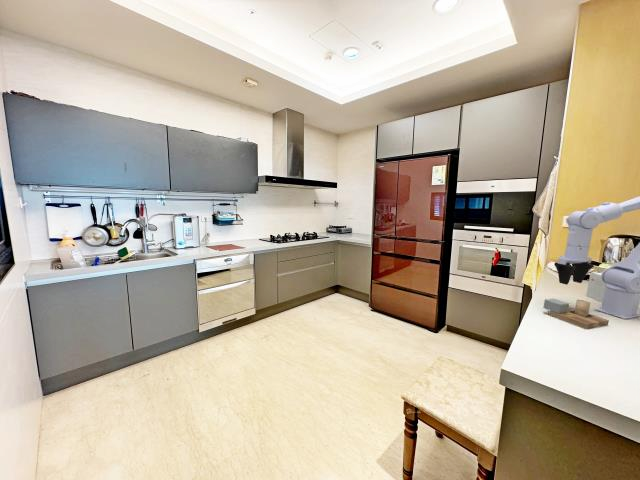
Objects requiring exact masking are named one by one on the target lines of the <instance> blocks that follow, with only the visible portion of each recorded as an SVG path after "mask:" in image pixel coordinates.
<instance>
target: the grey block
mask: <svg viewBox="0 0 640 480" xmlns="http://www.w3.org/2000/svg"><path fill="white" fill-rule="evenodd" d="M568 308H570V303H569V302H566V301H562V300H559V299H556V298H548V299H544V303H543V309H545V310H548V311H554V312H556V313H564V312H568Z"/></svg>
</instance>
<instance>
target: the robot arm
mask: <svg viewBox="0 0 640 480" xmlns="http://www.w3.org/2000/svg"><path fill="white" fill-rule="evenodd" d="M600 204H601V205H598V206H594V207H587V208H585V210H583V211H582V210H576V211H573V212H571V213H570V214H569V216H568V217H567V218H566V219H565V220H566V221H565V222H566V224H567V226H568V227H567V230H568V234H567V241H566V245H565V250H564V251H565V252H564V255H563V254H562V255H559V257H558V258H557V262H556V261H555V262H554V267H555V269H556V271H557V274H558V281H559V284H563V285H566V286H567V285H569V283H570V280H571V278H572V282H574V283H577V284H578V283H579V284H582V283H583V281H584V279H585V278H586V276H587V275H588V273H589V272H590V271H591V270H592V269H593V268H594V267H595V265H594V264H593V263H591V262H592V257H589V256H588V255H589V252H590V245H591V241H592V237H593V231H594V229H595V228H597V227H598V226H599V225H600V224H604V223H607V222H610V221H612V220H616V219H619V218H621V217H622V216H623V214H625V213H629V212H633V211H637V210H640V196H636V197H634V198H632V199H629V200H626V201H625V200H624V201H623V202H618V203H615V202H607V201H606V202H601V203H600ZM601 273H602V275H601V279H602V281H603V282H604V283H605V284H604V285H605V286H606V288H605V292H604V297H603V301H602V302H601V305H600V307H594V310H595V311H597V312H602V313H604V314H608V315H611V316H615V317H618V318H621V319H624V320H626V319H628V320H629V319H633V318H638V317H640V314H638V310H639V309H638V308H639V305H640V242H638V244H637V245H636V246H635V247H634V248H633V249H632V251H631V252H630V253H629V254H628V255H627V257H626V258H625V259H624V260H621V261H618V262H615V263H612V265H611V266H609V267H608V268H605V269H604V270H603V271H602V272H601ZM571 276H572V277H571Z"/></svg>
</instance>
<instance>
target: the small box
mask: <svg viewBox="0 0 640 480" xmlns="http://www.w3.org/2000/svg"><path fill="white" fill-rule="evenodd" d="M601 275H602V272H594V271H591V272H590V274H589V279H588V283H587V284H588V285H587V291H586V295H585V296H586V297H589V298H591V299H593V300H596V301H598V302H601V303H602V301H603V297H604V292H605V288H606V286H605V285H604V284H605V283H604V282H603V281H602V279H601Z"/></svg>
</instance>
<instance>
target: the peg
mask: <svg viewBox="0 0 640 480" xmlns="http://www.w3.org/2000/svg"><path fill="white" fill-rule="evenodd" d="M575 302H576V303H575V308H574V309H575V311H574V314H576V315H579V316H582V317H585V318H587V317H588V314H590V312H589V311H590V307H591V302H590V301H588V300H584V299H576V301H575Z"/></svg>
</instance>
